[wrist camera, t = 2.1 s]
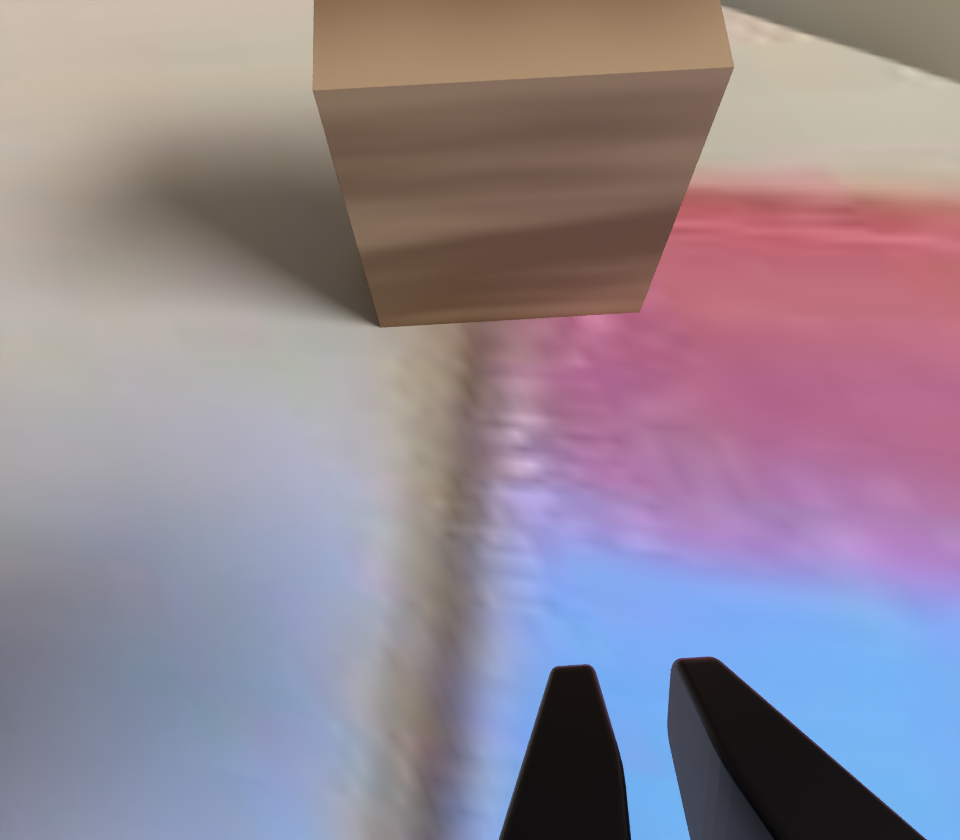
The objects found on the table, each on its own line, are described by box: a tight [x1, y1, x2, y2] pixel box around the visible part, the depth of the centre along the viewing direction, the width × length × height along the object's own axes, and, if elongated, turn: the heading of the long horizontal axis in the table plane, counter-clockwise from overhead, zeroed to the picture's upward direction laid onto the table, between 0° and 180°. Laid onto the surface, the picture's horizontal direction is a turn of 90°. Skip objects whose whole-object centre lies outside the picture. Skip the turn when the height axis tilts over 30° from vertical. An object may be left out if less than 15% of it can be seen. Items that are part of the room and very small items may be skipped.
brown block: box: [313, 0, 734, 328], centre depth 20 cm, size 3×8×10 cm, turn 94°
